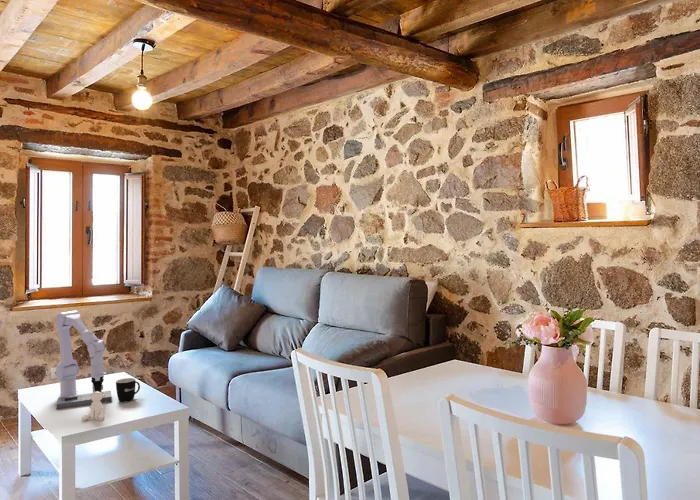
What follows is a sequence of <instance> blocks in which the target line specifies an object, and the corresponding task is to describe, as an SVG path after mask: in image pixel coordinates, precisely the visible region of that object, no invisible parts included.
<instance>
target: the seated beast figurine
mask: <svg viewBox="0 0 700 500" xmlns="http://www.w3.org/2000/svg"><path fill="white" fill-rule="evenodd" d="M92 393H93V392H92ZM104 395H105V393H104V394H102V393H101V392H99V391H97V392H94V393H93V394H92V397H91V398H92V401H93V402H92V403H91V405H89V408H90V411H89V413H86V414H84V415H83V416H82V417H81V421H82V422H86V421H87V422H88V421H99V422H102V421H103V420H104V419H105V408H104V407H103V403H101V401H100V400H102V397H104Z"/></svg>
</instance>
